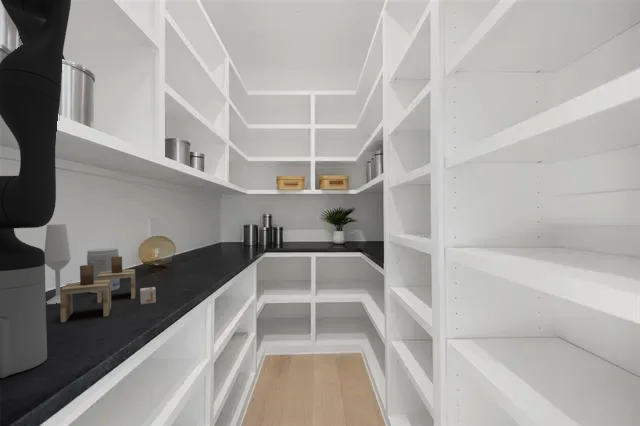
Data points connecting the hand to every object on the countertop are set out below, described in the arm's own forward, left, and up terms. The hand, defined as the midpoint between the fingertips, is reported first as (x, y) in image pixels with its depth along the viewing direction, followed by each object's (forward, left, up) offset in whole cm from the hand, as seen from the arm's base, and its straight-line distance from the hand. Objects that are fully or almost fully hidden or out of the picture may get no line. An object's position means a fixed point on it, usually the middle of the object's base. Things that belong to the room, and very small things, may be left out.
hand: (43, 180), depth 92 cm
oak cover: (+20, -6, -36) cm, 42 cm away
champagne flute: (+15, +10, -36) cm, 41 cm away
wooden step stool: (+1, -11, -36) cm, 38 cm away
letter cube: (+14, -20, -36) cm, 44 cm away
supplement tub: (+30, +6, -36) cm, 47 cm away
